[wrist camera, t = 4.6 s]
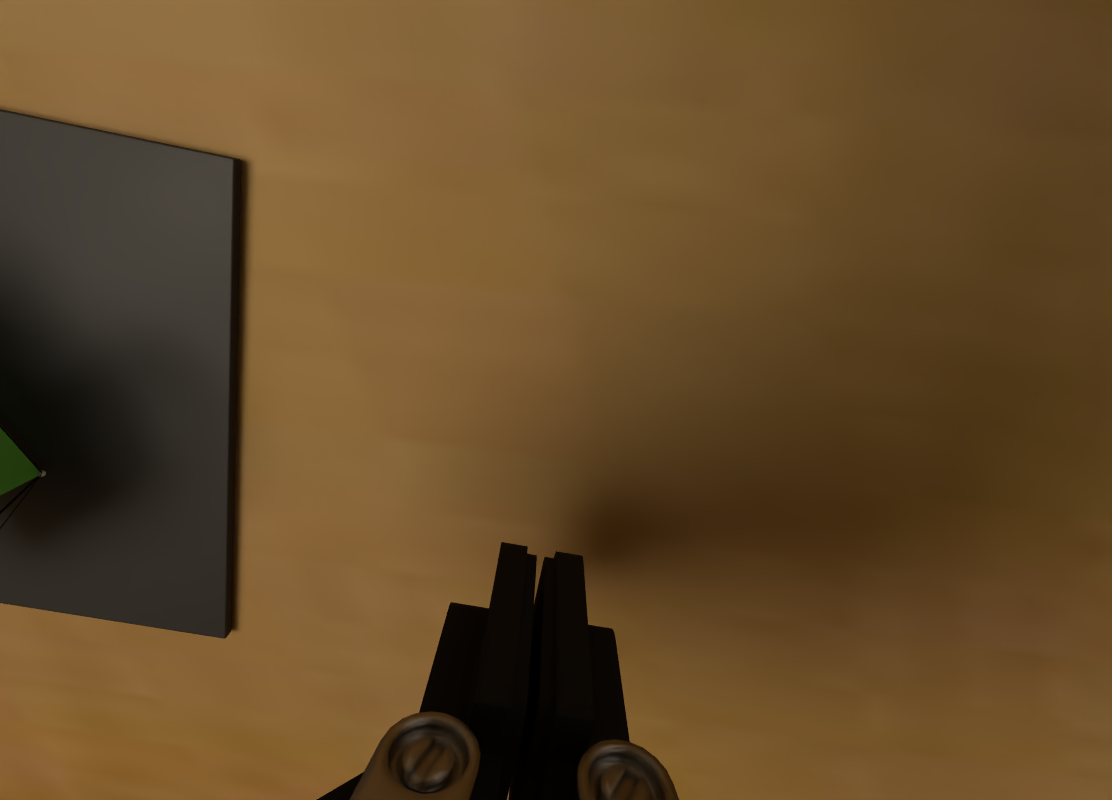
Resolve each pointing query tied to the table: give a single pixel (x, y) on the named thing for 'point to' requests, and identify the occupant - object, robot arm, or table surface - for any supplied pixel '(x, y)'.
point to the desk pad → (119, 374)
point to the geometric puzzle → (15, 468)
